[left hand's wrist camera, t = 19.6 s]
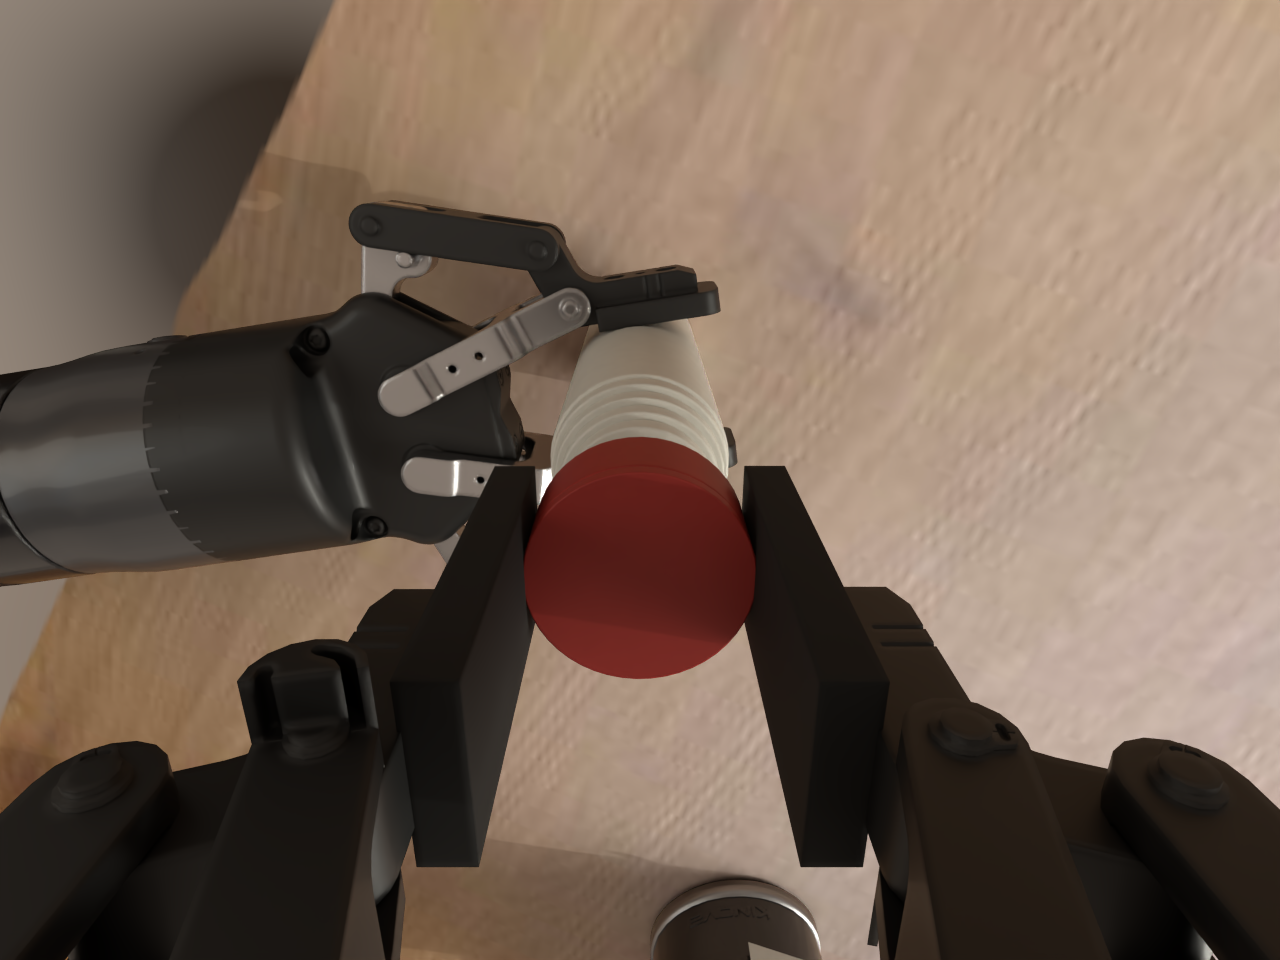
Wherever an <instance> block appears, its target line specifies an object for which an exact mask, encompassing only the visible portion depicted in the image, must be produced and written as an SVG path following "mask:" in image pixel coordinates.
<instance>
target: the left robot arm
mask: <svg viewBox="0 0 1280 960" xmlns="http://www.w3.org/2000/svg"><path fill="white" fill-rule="evenodd" d="M536 513H537V492H536V474H535V466H495V467H494V469H493V471H492V473H491V475H490V477H489V479H488V481H487V483H486V485H485V487H484V489H483V491H482V493H481V495H480V497H479V499H478V501H477V503H476V505H475V508H474V510H473V512H472V514H471V516H470V518H469V520H468V522H467V524H466V526H465V528H464V530H463V532H462V534H461V536H460V538H459V540H458V542H457V544H456V546H455V548H454V551H453V553H452V555H451V557H450V559H449V561H448V563H447V565H446V567H445V569H444V571H443V573H442V575H441V577H440V579H439V581H438V583H437V585H436V587H435V589H394V590H392V591H391V592H390V593H388V594H387V595H385V596H384V597H383V598H381V599H380V600H379V601H377V602H376V603H374V604H373V605H372V606H370V607H369V609H368V610H367V612H366V614H365V615H364V617H363V618H362V620H361V622H360V623H359V625H358V627H357V632H354V633H353V635H352V636H351V638H350V639H349V641H348V642H346V641H342V640H339V639H315V640H310V641H305V642H300V643H295V644H290V645H288V646H286V647H283V648H281V649H278V650H276V651H273V652H271V653H268V654H266V655H265V656H264V657H262V658H261V659H259V660H258V661H256V662H255V663H253V664H252V665H250V666H249V667H248V668H247V669H246V671H245V672H244V673H243V674H242V676H241V677H240V678H239V679H238V681H237V684H238V688H239V692H240V696H241V701H242V705H243V709H244V713H245V718H246V722H247V726H248V730H249V734H250V739H251V743H252V745H251V748H250V750H249V753H248V754H246V755H242V756H239V757H235V758H232V759H229V760H225V761H221V762H216V763H211V764H207V765H202V766H198V767H193V768H189V769H184V770H180V771H175V772H172V769H171V765H170V762H169V759H168V755H167V754H166V753H165V752H164V751H163V750H162V749H160V748H159V747H158V746H157V745H155V744H149V743H144V742H139V741H131V742H121V743H111V744H108V745H105V746H101V747H98V748H94V749H91V750H88V751H85V752H82V753H80V754H78V755H76V756H74V757H72V758H70V759H68V760H66V761H64V762H62V763H60V764H58V765H56V766H54V767H53V768H52V769H50V770H49V771H48V772H46V773H45V774H44V775H42V776H41V777H40V778H39V779H37V780H36V781H35V782H33V783H32V784H31V785H30V786H29V787H28V788H27V789H26V790H25V791H24V792H22V793H21V794H20V795H19V796H18V797H17V798H16V799H15V800H14V801H13V802H12V803H11V804H10V805H9V806H8V807H7V808H6V809H5V810H4V811H3V812H2V813H1V814H0V960H65V959H66V958H67V957H68V959H67V960H400V952H401V941H402V930H403V919H404V909H405V893H404V886H403V880H402V874H401V866H402V863H403V860H404V857H405V854H406V851H407V848H408V845H409V842H410V839H411V836H412V839H413V845H414V852H415V859H416V866H417V867H479V864H480V860H481V855H482V851H483V847H484V842H485V838H486V834H487V829H488V825H489V820H490V816H491V812H492V807H493V803H494V799H495V794H496V790H497V786H498V781H499V777H500V773H501V768H502V764H503V760H504V755H505V751H506V747H507V742H508V738H509V734H510V729H511V725H512V721H513V716H514V712H515V708H516V703H517V699H518V695H519V690H520V686H521V682H522V677H523V673H524V669H525V664H526V660H527V655H528V651H529V647H530V642H531V638H532V634H533V629H534V625H535V621H534V619H533V618H532V616H531V613H530V611H529V608H528V606H527V603H526V594H525V579H524V554H525V550H526V546H527V543H528V540H529V536H530V533H531V530H532V527H533V523H534V520H535V517H536ZM742 513H743V516H744V519H745V523H746V526H747V529H748V533H749V536H750V539H751V543H752V546H753V550H754V553H755V557H756V570H755V587H754V600H753V603H752V607H751V610H750V612H749V614H748V616H747V618H746V620H745V622H744V623H745V627H746V631H747V636H748V640H749V645H750V649H751V653H752V658H753V662H754V666H755V671H756V675H757V679H758V684H759V688H760V692H761V697H762V701H763V705H764V710H765V714H766V718H767V723H768V727H769V731H770V736H771V740H772V744H773V749H774V753H775V757H776V762H777V766H778V770H779V775H780V779H781V784H782V788H783V792H784V797H785V801H786V805H787V810H788V814H789V818H790V823H791V827H792V831H793V836H794V840H795V844H796V849H797V853H798V857H799V862H800V866H801V867H863V862H864V856H865V849H866V842H867V835H868V834H869V837H870V840H871V843H872V846H873V849H874V852H875V855H876V857H877V860H878V863H879V866H880V867H879V874H878V880H877V886H876V893H875V899H874V905H873V912H872V918H871V924H870V931H869V937H868V944H867V945H872V946H877V944H878V939H879V950H880V960H1215V958H1214V957H1213V956H1212V954H1213V953H1214V954H1215V956H1216V957H1217V958H1218V960H1280V809H1279V808H1278V807H1277V806H1276V805H1274V804H1273V803H1272V802H1271V801H1270V800H1269V799H1268V798H1267V797H1266V796H1265V795H1264V794H1263V793H1262V792H1261V791H1260V790H1259V789H1258V788H1257V787H1256V786H1254V785H1253V784H1252V783H1251V782H1250V781H1249V780H1248V779H1247V778H1245V777H1244V776H1243V775H1241V774H1240V773H1239V772H1237V771H1236V770H1235V769H1233V768H1232V767H1231V766H1229V765H1228V764H1227V763H1225V762H1223V761H1221V760H1219V759H1217V758H1215V757H1213V756H1211V755H1209V754H1207V753H1205V752H1203V751H1201V750H1199V749H1197V748H1194V747H1191V746H1188V745H1184V744H1181V743H1177V742H1174V741H1170V740H1162V739H1152V738H1140V739H1135V740H1129V741H1124V742H1123V743H1122V744H1121V745H1120V746H1118V747H1117V748H1116V749H1115V750H1114V751H1113V753H1112V756H1111V760H1110V763H1109V767H1108V769H1106V768H1101V767H1097V766H1092V765H1087V764H1083V763H1078V762H1074V761H1069V760H1064V759H1060V758H1055V757H1052V756H1048V755H1045V754H1041V753H1038V752H1035V751H1032V750H1031V749H1030V747H1029V744H1028V742H1027V741H1026V739H1025V738H1024V736H1023V735H1022V733H1021V732H1020V730H1019V729H1018V728H1017V727H1016V726H1015V725H1014V724H1012V723H1011V722H1010V721H1008V720H1007V719H1006V718H1005V717H1003V716H1002V715H1001V714H999V713H997V712H995V711H993V710H991V709H988V708H986V707H984V706H982V705H980V704H978V703H974V702H971V701H970V700H969V698H968V697H967V695H966V693H965V692H964V690H963V689H962V687H961V685H960V684H959V682H958V681H957V679H956V677H955V676H954V674H953V672H952V671H951V669H950V668H949V666H948V664H947V663H946V661H945V660H944V658H943V656H942V655H941V653H940V652H939V650H938V648H937V647H934V642H933V640H932V639H931V637H930V635H929V634H928V632H927V631H926V629H923V624H922V623H921V621H920V619H919V618H918V616H917V615H916V613H915V611H914V610H913V608H912V606H911V605H910V604H909V603H907V602H906V601H905V600H903V599H902V598H901V597H899V596H898V595H896V594H895V593H894V592H892V591H891V590H889V589H888V588H887V587H844V586H843V584H842V582H841V580H840V578H839V576H838V574H837V572H836V570H835V568H834V566H833V564H832V562H831V560H830V558H829V556H828V554H827V552H826V550H825V547H824V545H823V543H822V541H821V539H820V537H819V535H818V533H817V531H816V529H815V527H814V525H813V523H812V521H811V519H810V517H809V515H808V513H807V511H806V509H805V507H804V504H803V502H802V500H801V498H800V496H799V494H798V492H797V490H796V488H795V486H794V484H793V482H792V480H791V478H790V476H789V474H788V472H787V470H786V468H785V466H744V483H743V502H742Z"/></svg>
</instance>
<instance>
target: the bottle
mask: <svg viewBox="0 0 1280 960" xmlns="http://www.w3.org/2000/svg"><path fill="white" fill-rule="evenodd" d="M627 437H651V438H659V439H664V440H668V441H672V442H675V443H678V444H681V445H684V446H686V447H688V448H690V449H692V450H694V451H696V452H698V453H699V454H700V455H702V456H703V457H705V458H706V459H708V460H709V461H710V462H711V463H712V464H714V465H715V466H716V467H717V468H718V469H719V470H720V471H721V473H722V474H723V475H724V476H725V477H726V478H727V477H728V463H729V451H728V443H727V438H726V434H725V431H724V428H723V425H722V422H721V419H720V415H719V412H718V409H717V406H716V403H715V400H714V397H713V394H712V391H711V388H710V385H709V382H708V379H707V375H706V372H705V369H704V366H703V363H702V360H701V357H700V354H699V351H698V348H697V345H696V342H695V338H694V335H693V332H692V329H691V326H690V324H689V321H688V319H681V320H675V321H669V322H662V323H656V324H650V325H643V326H635V327H627V328H623V329H618V330H612V331H605V332H599V328H598V324H596V325H589V328H588V331H587V334H586V337H585V340H584V343H583V346H582V349H581V352H580V355H579V358H578V361H577V364H576V367H575V371H574V374H573V377H572V380H571V383H570V386H569V389H568V392H567V395H566V398H565V401H564V404H563V407H562V410H561V414H560V417H559V420H558V423H557V426H556V429H555V432H554V436H553V440H552V444H551V454H550V455H551V475H552V479H553V478H554V476H555V475H556V474H557V473H558V472H559V471H560V470H561V469H562V468H563V466H564V465H565V464H567V463H568V462H569V461H570V460H572V459H573V458H574V457H576V456H577V455H579V454H580V453H582V452H584V451H585V450H587V449H589V448H591V447H594V446H596V445H598V444H601V443H604V442H608V441H611V440H614V439H621V438H627Z"/></svg>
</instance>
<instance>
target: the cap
mask: <svg viewBox="0 0 1280 960" xmlns="http://www.w3.org/2000/svg"><path fill="white" fill-rule="evenodd" d="M755 570H756V557H755V553H754V550H753V546H752V543H751V539H750V536H749V533H748V529H747V526H746V523H745V519H744V516H743V513H742V509H741V506H740V503H739V500H738V498H737V496H736V493H735V491H734V489H733V488H732V486H731V485H730V483H729V481H728V480H727V478H726V477H725V476H724V475H723V474H722V473H721V471H720V470H719V469H718V468H717V467H716V466H715V465H714V464H712V463H711V462H710V461H709V460H708V459H706V458H705V457H703V456H702V455H700V454H699V453H698V452H696V451H694V450H692V449H690V448H688V447H686V446H684V445H681V444H678V443H675V442H672V441H668V440H664V439H659V438H651V437H627V438H621V439H614V440H611V441H608V442H604V443H601V444H598V445H596V446H594V447H591V448H589V449H587V450H585V451H584V452H582V453H580V454H579V455H577V456H576V457H574V458H573V459H572V460H570V461H569V462H568V463H567V464H565V465H564V466H563V468H562V469H561V470H560V471H559V472H558V473H557V474H556V475H555V476H554V478H553V479H552V481H551V482H550V483H549V485H548V486H547V488H546V490H545V492H544V494H543V496H542V498H541V501H540V504H539V507H538V510H537V513H536V517H535V520H534V523H533V527H532V530H531V533H530V536H529V540H528V543H527V546H526V550H525V554H524V579H525V594H526V603H527V606H528V608H529V611H530V613H531V616H532V618H533V619H534V621H535V623H536V624H537V626H538V628H539V629H540V631H541V632H542V633H543V634H544V636H545V637H546V638H547V639H548V641H549V642H550V643H552V644H553V645H554V646H555V647H556V648H557V649H558V650H559V651H560V652H562V653H563V654H564V655H566V656H567V657H568V658H570V659H571V660H573V661H575V662H577V663H578V664H580V665H582V666H584V667H587V668H589V669H591V670H593V671H596V672H600V673H603V674H606V675H610V676H616V677H621V678H632V679H648V678H657V677H665V676H669V675H673V674H677V673H680V672H683V671H685V670H688V669H691V668H693V667H695V666H697V665H699V664H701V663H703V662H705V661H706V660H708V659H709V658H711V657H712V656H714V655H715V654H717V653H718V652H719V651H720V650H721V649H722V648H724V647H725V646H726V645H727V644H728V643H729V642H730V641H731V640H732V638H733V637H734V636H735V635H736V634H737V632H738V631H739V629H740V628H741V626H742V625H743V623H744V622H745V620H746V618H747V616H748V614H749V612H750V610H751V607H752V603H753V600H754V587H755Z"/></svg>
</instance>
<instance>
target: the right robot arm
mask: <svg viewBox="0 0 1280 960" xmlns="http://www.w3.org/2000/svg"><path fill="white" fill-rule="evenodd" d="M349 229H350V232H351V234H352V236H353V237H354V239H355V240H356V241H357V242H358V243H360V244H361V245H362V275H361V294H359V295H356V296H354V297H353V298H351V299H350V300H349V301H347V302H346V303H345V304H344V305H343V306H342V307H341V308H340V309H338V310H337V311H335V312H331V313H328V314H322V315H316V316H309V317H303V318H297V319H291V320H285V321H278V322H272V323H266V324H260V325H254V326H247V327H241V328H235V329H229V330H223V331H216V332H210V333H204V334H198V335H192V336H184V335H174V336H163V337H157V338H153V339H152V340H150V341H148V342H147V343H143V344H137V345H131V346H125V347H120V348H115V349H110V350H105V351H101V352H98V353H94V354H91V355H88V356H85V357H82V358H79V359H76V360H73V361H70V362H66V363H63V364H60V365H55V366H51V367H46V368H39V369H33V370H27V371H20V372H14V373H8V374H2V375H0V587H1V586H9V585H19V584H27V583H34V582H41V581H48V580H54V579H62V578H69V577H76V576H83V575H89V574H96V573H105V572H157V571H167V570H176V569H183V568H190V567H197V566H204V565H211V564H218V563H225V562H232V561H240V560H247V559H254V558H261V557H268V556H274V555H281V554H288V553H295V552H302V551H309V550H316V549H323V548H330V547H337V546H344V545H351V544H357V543H362V542H366V541H370V540H374V539H378V538H383V537H399V538H404V539H408V540H411V541H414V542H417V543H421V544H434V545H435V547H436V548H437V550H438V551H439V553H440V554H441V556H442V557H443V559H444V560H445V562H446V563H448V561H449V559H450V557H451V555H452V553H453V551H454V548H455V546H456V544H457V542H458V540H459V538H460V536H461V534H462V532H463V530H464V528H465V525H464V524H465V523H466V522H467V521H468V520H469V518H470V516H471V514H472V512H473V510H474V508H475V505H476V503H477V501H478V499H479V497H480V495H481V493H482V491H483V489H484V487H485V485H486V483H487V481H488V479H489V477H490V475H491V473H492V471H493V469H494V467H495V466H535V474H536V492H537V505H538V504H540V501H541V498H542V496H543V494H544V492H545V490H546V488H547V486H548V485H549V483H550V482H551V481H552V475H551V455H550V454H551V444H552V440H553V436H551V435H546V434H538V433H531V432H524V431H523V426H522V422H521V418H520V416H519V414H518V412H517V410H516V409H515V407H514V405H513V403H512V401H511V399H510V382H511V372H510V368H509V364H511V363H513V362H515V361H517V360H518V359H520V358H522V357H523V356H525V355H526V354H527V353H529V352H531V351H532V350H534V349H536V348H538V347H540V346H542V345H544V344H546V343H548V342H550V341H552V340H554V339H557V338H559V337H561V336H563V335H565V334H567V333H569V332H571V331H573V330H575V329H577V328H579V327H583V326H589V325H596V324H598V328H599V332H605V331H612V330H618V329H623V328H627V327H635V326H643V325H650V324H656V323H662V322H669V321H675V320H681V319H688V318H694V317H700V316H707V315H711V314H715V313H718V312H720V302H719V293H718V287H717V286H716V284H715V283H714V282H712V281H706V282H697V278H696V273H695V271H694V270H693V268H688V267H684V266H680V265H671V266H665V267H659V268H652V269H647V270H640V271H634V272H628V273H622V274H615V275H609V276H603V277H595V276H591V275H589V274H587V273H585V272H584V271H583V270H581V269H580V267H579V266H578V265H577V263H576V261H575V260H574V258H573V256H572V254H571V253H570V251H569V249H568V247H567V245H566V241H565V237H564V234H563V232H562V231H561V230H560V229H559V228H558V227H557V226H555V225H553V224H550V223H544V222H537V221H531V220H524V219H517V218H510V217H503V216H497V215H490V214H483V213H476V212H470V211H463V210H456V209H449V208H443V207H436V206H429V205H422V204H415V203H409V202H402V201H395V200H391V201H380V202H372V203H367V204H361V205H359V206H357V207H356V208H355V209H354V210H353V211H352V213H351V214H350V217H349ZM438 258H444V259H451V260H458V261H465V262H472V263H479V264H486V265H493V266H500V267H507V268H513V269H520V270H527V271H528V272H529V274H530V275H531V277H532V279H533V280H534V282H535V284H536V286H537V287H538V289H539V291H540V292H541V293H540V294H538V295H536V296H534V297H532V298H530V299H528V300H526V301H523V302H521V303H518V304H515V305H513V306H511V307H509V308H507V309H505V310H503V311H501V312H499V313H497V314H495V315H493V316H491V317H489V318H487V319H485V320H483V321H481V322H479V323H477V324H475V325H473V326H469V325H467V324H464V323H462V322H460V321H458V320H456V319H454V318H452V317H450V316H448V315H446V314H444V313H442V312H440V311H438V310H436V309H434V308H432V307H430V306H428V305H426V304H424V303H422V302H420V301H417V300H415V299H413V298H411V297H409V296H407V295H405V294H403V293H401V292H400V288H401V285H402V283H403V281H404V280H405V279H406V278H416V277H420V276H422V275H424V274H426V273H428V272H430V271H432V270H433V269H434V268H435V266H436V265H437V262H438ZM723 428H724V431H725V434H726V438H727V443H728V451H729V463H728V468H729V467H732V466H734V465H736V464H737V453H736V444H735V440H734V437H733V434H732V431H731V429H730V428H727V427H723ZM522 449H524V450H525V451H522ZM651 960H822V958H821V947H820V941H819V937H818V933H817V928H816V925H815V921H814V919H813V917H812V915H811V913H810V912H809V910H808V909H807V908H806V906H805V905H804V904H803V903H802V902H801V901H800V900H798V899H797V898H796V897H795V896H793V895H792V894H790V893H788V892H787V891H785V890H783V889H781V888H778V887H776V886H773V885H770V884H766V883H762V882H757V881H750V880H725V881H718V882H713V883H708V884H705V885H702V886H699V887H696V888H694V889H691V890H689V891H687V892H685V893H683V894H682V895H680V896H678V897H677V898H676V899H674V900H673V901H672V902H670V903H669V904H668V905H667V906H666V907H665V908H664V909H663V910H662V912H661V913H660V914H659V916H658V918H657V919H656V921H655V923H654V926H653V929H652V932H651Z"/></svg>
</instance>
